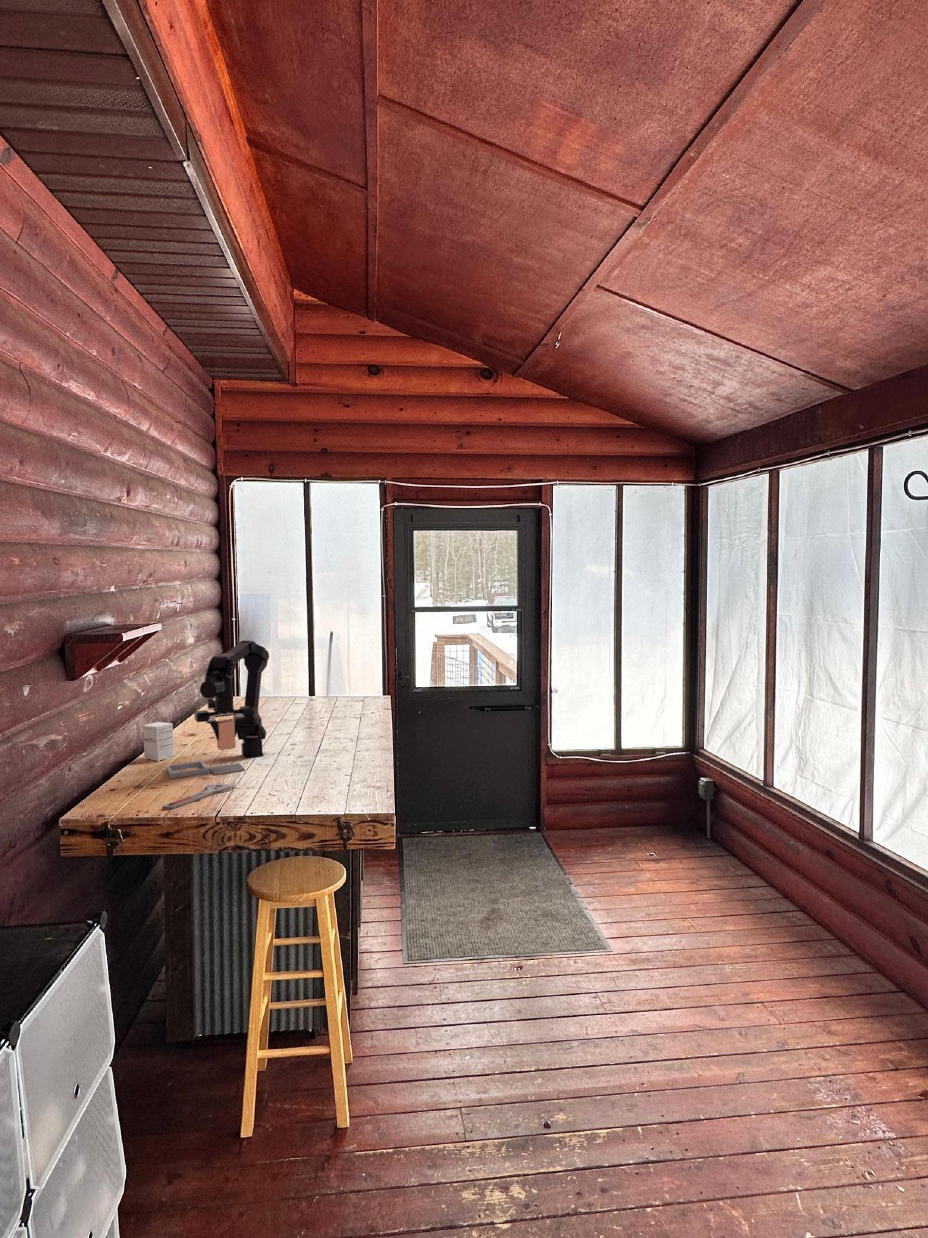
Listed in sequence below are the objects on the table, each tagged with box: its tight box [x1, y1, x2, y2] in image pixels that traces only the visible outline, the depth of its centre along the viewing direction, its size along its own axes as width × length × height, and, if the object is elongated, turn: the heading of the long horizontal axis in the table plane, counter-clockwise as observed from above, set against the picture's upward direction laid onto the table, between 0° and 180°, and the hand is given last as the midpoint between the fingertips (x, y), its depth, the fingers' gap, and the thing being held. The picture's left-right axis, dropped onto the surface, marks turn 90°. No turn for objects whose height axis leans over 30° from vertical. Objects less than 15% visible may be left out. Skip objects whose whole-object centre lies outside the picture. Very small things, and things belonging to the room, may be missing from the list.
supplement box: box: [142, 721, 175, 762], centre depth 264 cm, size 7×7×13 cm
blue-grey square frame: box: [166, 760, 209, 779], centre depth 246 cm, size 12×12×2 cm
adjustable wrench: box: [162, 780, 237, 810], centre depth 218 cm, size 8×26×2 cm, turn 147°
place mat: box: [208, 762, 246, 776], centre depth 247 cm, size 10×10×1 cm
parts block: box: [216, 718, 236, 751], centre depth 247 cm, size 5×5×9 cm
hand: (225, 738), depth 247 cm, fingers closed on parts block, 5 cm apart
